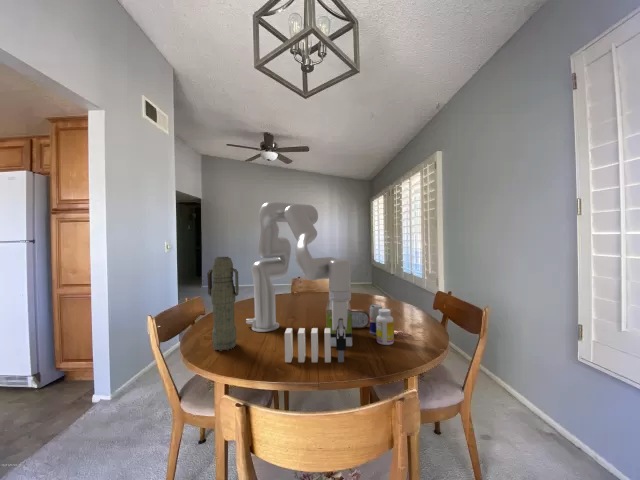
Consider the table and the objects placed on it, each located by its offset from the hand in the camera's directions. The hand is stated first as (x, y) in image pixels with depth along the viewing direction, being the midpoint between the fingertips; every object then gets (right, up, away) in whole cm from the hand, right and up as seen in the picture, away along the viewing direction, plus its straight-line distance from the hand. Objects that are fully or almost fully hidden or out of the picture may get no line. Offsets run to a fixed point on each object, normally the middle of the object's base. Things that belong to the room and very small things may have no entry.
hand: (340, 344), depth 98 cm
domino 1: (-18, -5, +1) cm, 19 cm away
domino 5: (0, -5, 0) cm, 5 cm away
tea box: (+1, -5, +18) cm, 19 cm away
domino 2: (-13, -5, +1) cm, 14 cm away
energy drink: (+17, -4, +24) cm, 30 cm away
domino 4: (-4, -5, 0) cm, 7 cm away
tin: (+8, -5, +33) cm, 34 cm away
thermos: (-44, -6, +13) cm, 47 cm away
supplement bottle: (+19, -5, +14) cm, 24 cm away
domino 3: (-9, -5, 0) cm, 10 cm away
